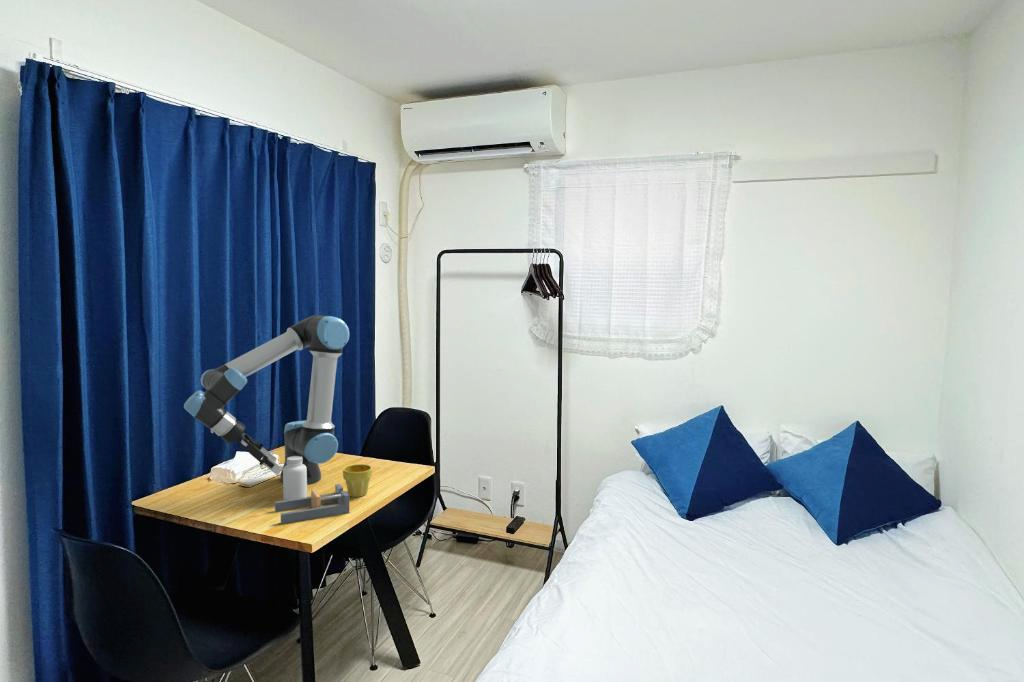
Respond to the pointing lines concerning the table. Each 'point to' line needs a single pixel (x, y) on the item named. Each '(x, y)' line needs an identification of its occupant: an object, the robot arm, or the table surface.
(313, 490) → the pusher
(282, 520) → the lane
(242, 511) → the table surface
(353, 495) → the plant pot
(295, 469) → the pill bottle
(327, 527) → the table surface
